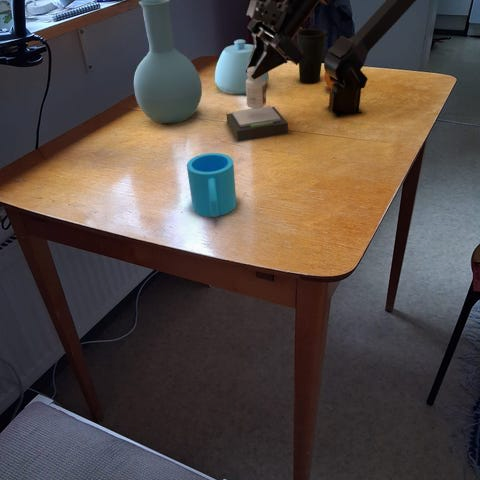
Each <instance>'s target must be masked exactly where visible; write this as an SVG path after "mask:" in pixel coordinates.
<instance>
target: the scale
mask: <svg viewBox="0 0 480 480" xmlns="http://www.w3.org/2000/svg"><path fill="white" fill-rule="evenodd" d="M225 117H226V125H227V126H228V128H229V130H230V132H231V134H232V135H233V136H234V138H235V140H236V141H237V142H244V141H251V140H256V139H261V138H268V137H269V138H270V137H274V136H280V135H281V136H282V135H287V134H289V122H288V121H287V120H286V118H284V116H283V115H282V114H281V113H280V112H279V110H278V109H277V108H276V107H275V106H271V105H265V106H263V107H261V108H247V109H240V110H239V109H238V110H233V111H231V113H226V114H225Z"/></svg>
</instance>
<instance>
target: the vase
mask: <svg viewBox="0 0 480 480" xmlns="http://www.w3.org/2000/svg"><path fill="white" fill-rule="evenodd" d="M170 3H171V0H140V1H138V4H139V5H140V6H141V8H142V13H143V19H144V25H145V30H146V36H147V41H148V45H149V50H148V53H147V54H146V56H144V57H143V59H142V60H141V61H140V63H139V64H138V65H137V67H136V70H135V72H134V77H133V89H134V96H135V99H136V103H137V104H138V106H139V108H140V110H141V111H142V112H143V113H144V114H145V115H146V116H147V118H149V119H151V120H153V121H154V122H156V123H159V124H160V123H161V124H174V123H175V124H176V123H180V122H183V121H186V120H187V119H189V118H191V117H192V116H193V115H194V114H195V112H196V111H197V109H198V107H199V105H200V103H201V101H202V96H203V86H202V80H201V77H200V74H199V73H198V70H197V68H196V66H195V65H194V64H193V62H192V61H191V60H190V59H189V58H187V56H185V55H184V54H182V53H181V52H179V51H178V50H177V48H175V45H174V38H173V37H174V36H173V29H172V20H171V18H172V17H171V13H170V12H171V11H170V7H169V6H170V5H169V4H170Z"/></svg>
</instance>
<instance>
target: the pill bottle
mask: <svg viewBox="0 0 480 480" xmlns="http://www.w3.org/2000/svg"><path fill="white" fill-rule="evenodd" d="M255 67H256V66H254V67H250V68H248V69H247V75H248V77H249V78H248V79H247V80H246V94H245V95H246V106H247V107H248V108H249V109H252V108H261V107H265V106H267V87H266V84H267V83H266V82H265V79H264V78H263V77H262V76H263V75H262V76H260V77H258V78H257V79H253V78H252V77H251V74H252V72H253V70H254V68H255Z"/></svg>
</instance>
